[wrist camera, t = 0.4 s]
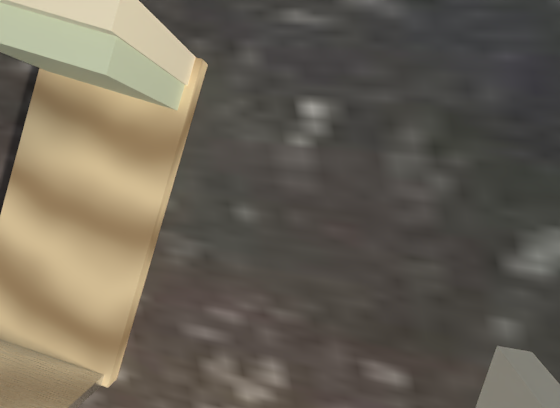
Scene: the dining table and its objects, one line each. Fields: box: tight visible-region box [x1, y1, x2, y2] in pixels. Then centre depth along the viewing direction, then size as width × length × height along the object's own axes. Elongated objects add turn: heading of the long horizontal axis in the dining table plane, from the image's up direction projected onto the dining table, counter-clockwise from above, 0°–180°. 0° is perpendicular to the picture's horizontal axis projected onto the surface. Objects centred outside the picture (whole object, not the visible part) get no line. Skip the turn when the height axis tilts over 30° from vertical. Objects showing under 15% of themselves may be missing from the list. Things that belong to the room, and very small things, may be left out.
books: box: [0, 0, 196, 110], centre depth 27 cm, size 4×10×12 cm, turn 73°
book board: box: [0, 58, 208, 388], centre depth 35 cm, size 24×11×2 cm, turn 163°
